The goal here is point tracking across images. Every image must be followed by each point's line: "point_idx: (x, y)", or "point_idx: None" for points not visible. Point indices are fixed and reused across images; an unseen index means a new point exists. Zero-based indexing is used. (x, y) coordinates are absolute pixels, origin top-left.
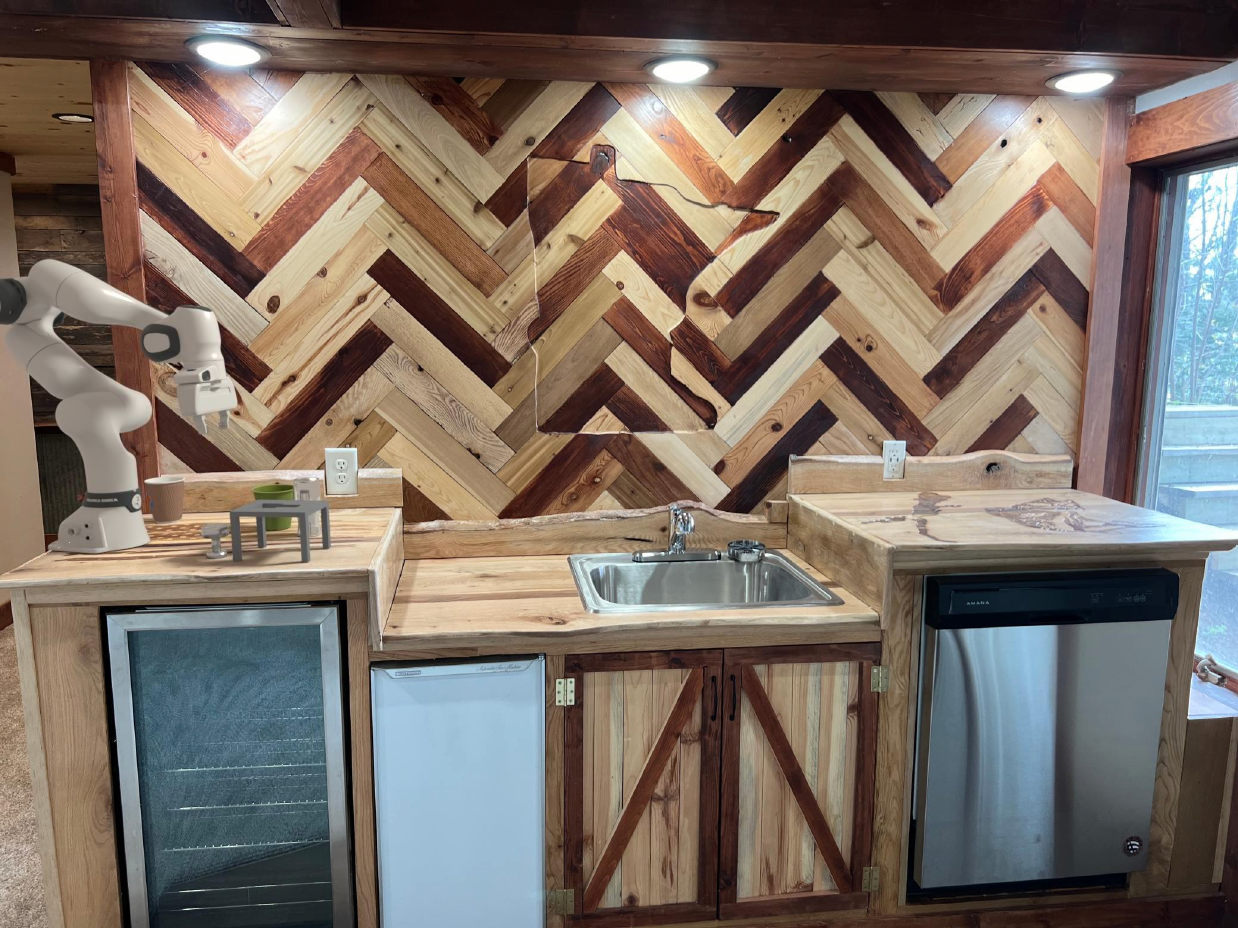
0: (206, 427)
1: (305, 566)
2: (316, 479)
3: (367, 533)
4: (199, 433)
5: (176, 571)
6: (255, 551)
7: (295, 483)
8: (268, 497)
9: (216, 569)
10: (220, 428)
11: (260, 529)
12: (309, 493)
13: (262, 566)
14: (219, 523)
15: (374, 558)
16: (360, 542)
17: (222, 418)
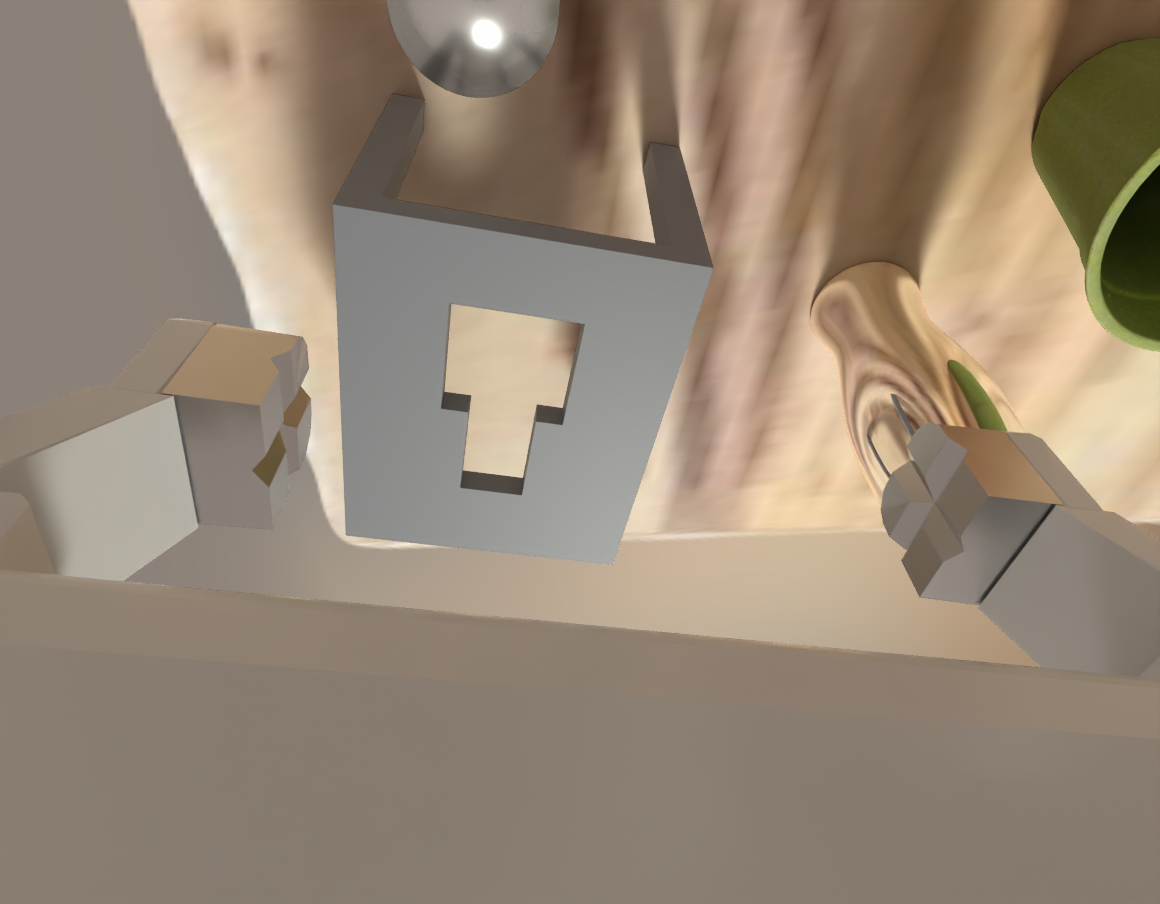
0: (204, 506)
1: (335, 392)
2: None
3: (800, 490)
4: (173, 329)
5: None
6: (581, 148)
7: None
8: (1105, 198)
9: (241, 55)
10: (926, 444)
11: (653, 201)
12: (860, 464)
13: (319, 250)
14: (544, 16)
15: None
16: (663, 488)
17: (1106, 599)
